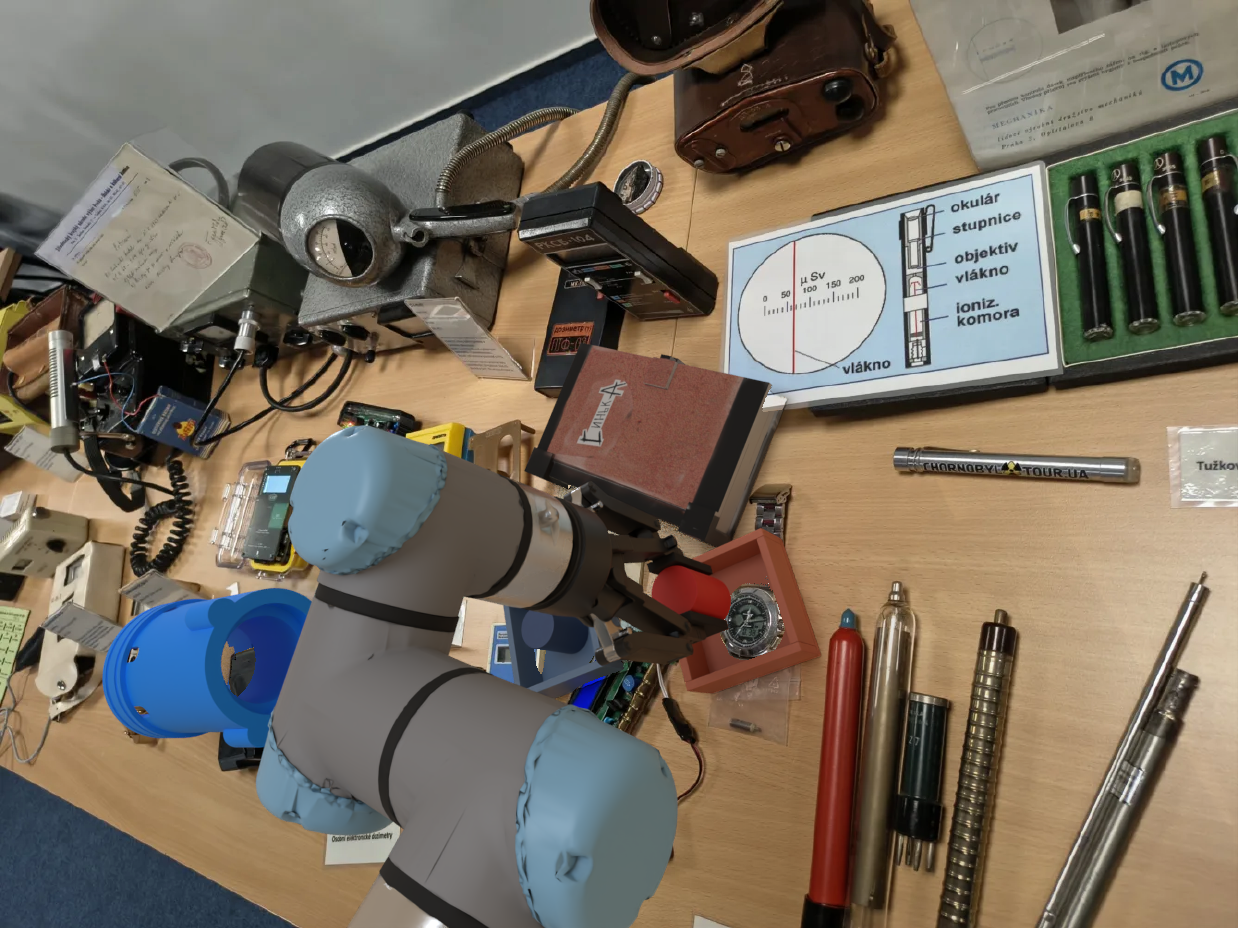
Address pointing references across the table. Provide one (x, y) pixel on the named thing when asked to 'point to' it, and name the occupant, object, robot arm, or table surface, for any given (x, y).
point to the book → (659, 438)
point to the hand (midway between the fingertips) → (706, 602)
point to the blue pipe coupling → (204, 665)
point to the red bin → (769, 558)
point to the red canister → (691, 592)
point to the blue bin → (553, 661)
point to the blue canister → (554, 632)
